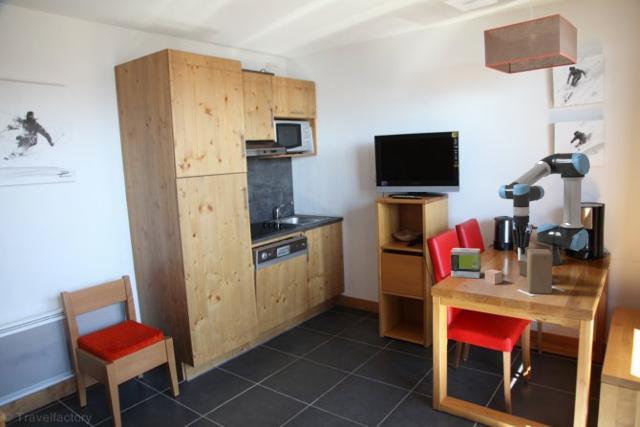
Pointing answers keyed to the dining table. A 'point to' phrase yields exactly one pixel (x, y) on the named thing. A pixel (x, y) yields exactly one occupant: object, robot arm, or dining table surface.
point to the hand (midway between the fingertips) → (521, 259)
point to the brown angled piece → (524, 262)
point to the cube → (493, 276)
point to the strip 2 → (557, 288)
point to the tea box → (465, 262)
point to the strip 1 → (525, 292)
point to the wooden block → (539, 271)
